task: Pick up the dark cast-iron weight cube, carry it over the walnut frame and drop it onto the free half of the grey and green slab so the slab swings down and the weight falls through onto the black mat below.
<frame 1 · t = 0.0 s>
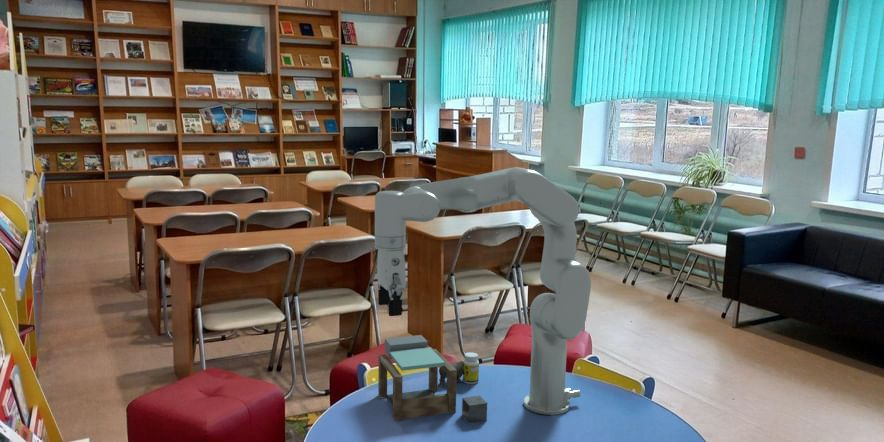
hand: (389, 309, 170), 31 cm above the table, tool pointing down, fingers open, 9 cm apart
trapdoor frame: (416, 403, 189), on the table
grey and green slab: (412, 354, 191), point 13 cm above the table, hinge at 0.0°
iron weight: (474, 418, 181), on the table
supplement bottle: (470, 381, 206), on the table, touching rhino figurine
rhino figurine: (457, 381, 206), on the table, touching supplement bottle
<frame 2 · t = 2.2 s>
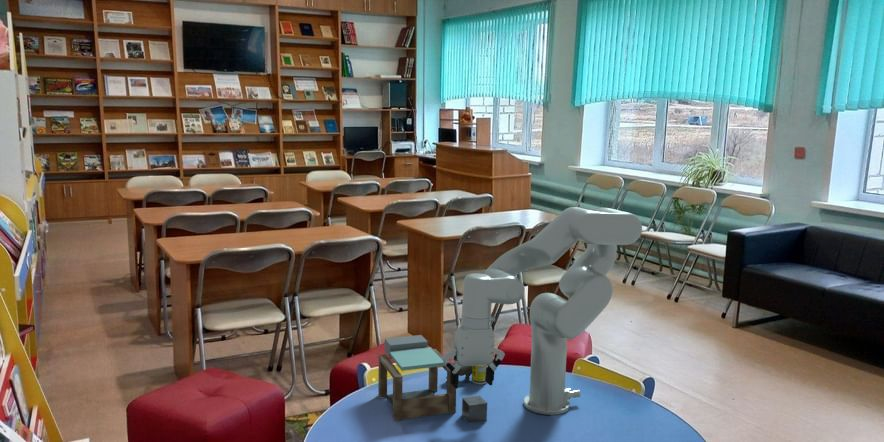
hand: (471, 384, 180), 9 cm above the table, tool pointing down, fingers open, 9 cm apart
supplement bottle: (479, 382, 206), on the table, touching rhino figurine
rhino figurine: (467, 380, 207), on the table, touching supplement bottle
everything else where it was.
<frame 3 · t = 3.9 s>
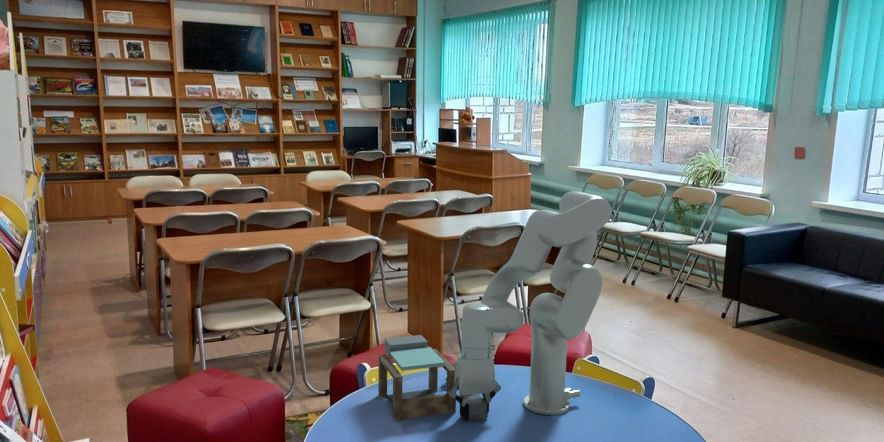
hand: (474, 416, 181), 0 cm above the table, tool pointing down, fingers closed on iron weight, 5 cm apart
iron weight: (474, 417, 181), on the table, touching gripper
supplement bottle: (479, 383, 204), on the table, touching rhino figurine
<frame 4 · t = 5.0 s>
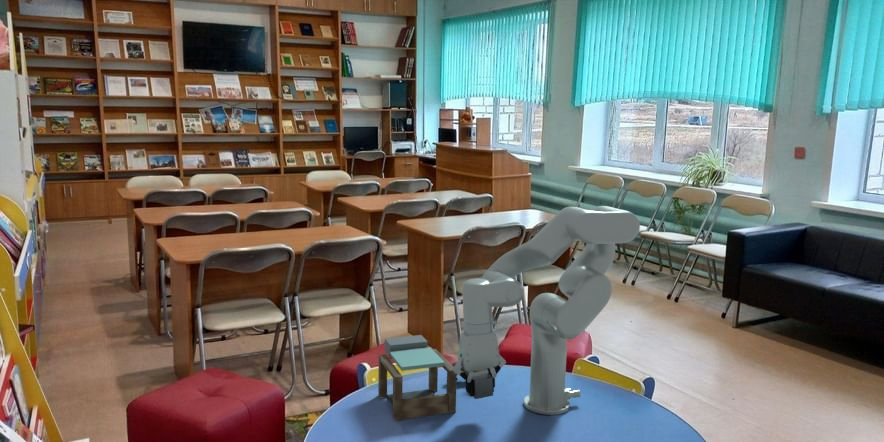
hand: (480, 391, 181), 7 cm above the table, tool pointing down, fingers closed on iron weight, 5 cm apart
iron weight: (480, 393, 181), point 7 cm above the table, touching gripper
supplement bottle: (482, 384, 204), on the table, touching rhino figurine
rhino figurine: (470, 381, 206), on the table, touching supplement bottle
everything else where it was.
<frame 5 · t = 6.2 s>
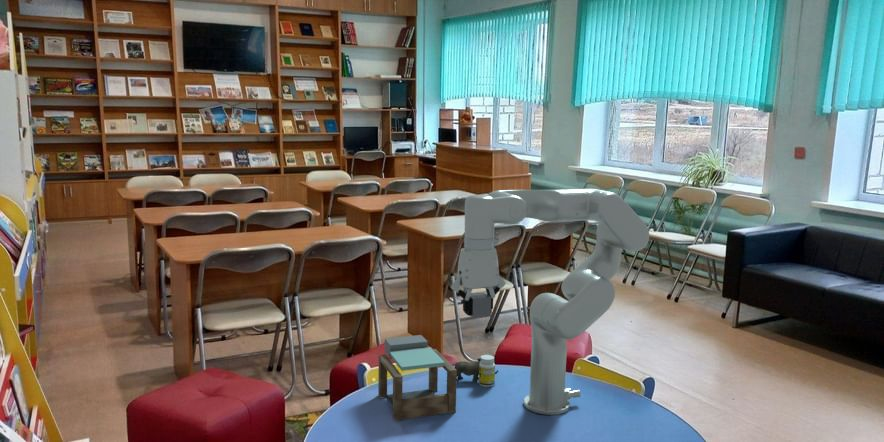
hand: (477, 312, 177), 29 cm above the table, tool pointing down, fingers closed on iron weight, 5 cm apart
iron weight: (477, 314, 177), point 28 cm above the table, touching gripper
supplement bottle: (486, 384, 204), on the table, touching rhino figurine
rhino figurine: (475, 381, 207), on the table, touching supplement bottle
everything else where it was.
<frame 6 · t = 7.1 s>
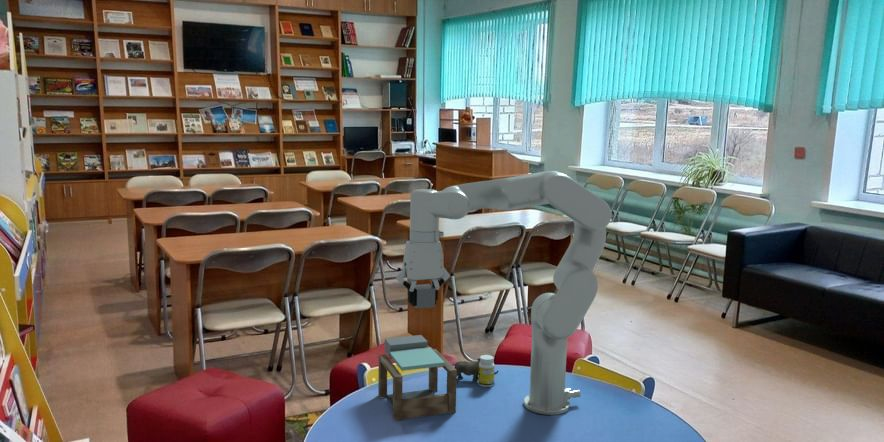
hand: (422, 303, 182), 30 cm above the table, tool pointing down, fingers closed on iron weight, 5 cm apart
iron weight: (422, 305, 182), point 29 cm above the table, touching gripper
everything else where it was.
when the fingers open (17 cm above the table, at t = 9.0 s): iron weight drops 13 cm and tips over, resting on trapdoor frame.
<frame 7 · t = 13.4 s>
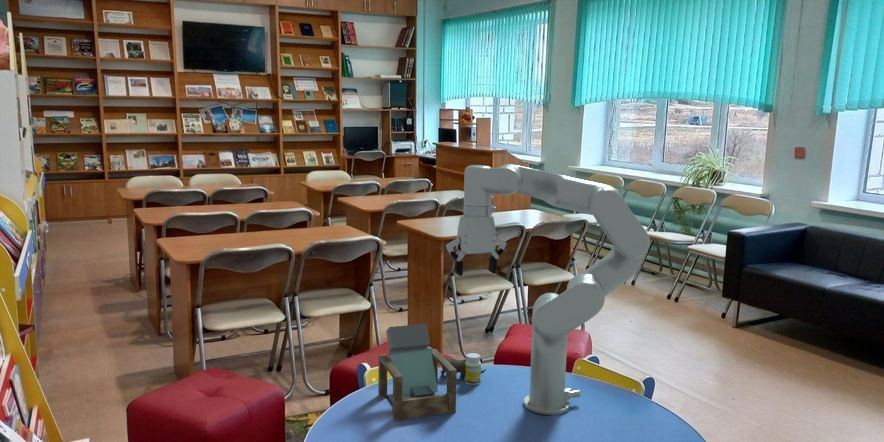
hand: (475, 273, 187), 36 cm above the table, tool pointing down, fingers open, 9 cm apart
grey and green slab: (411, 360, 192), point 11 cm above the table, hinge at -56.9°
iron weight: (419, 395, 187), point 3 cm above the table, tilted 90°, touching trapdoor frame
supplement bottle: (472, 382, 205), on the table, touching rhino figurine
rhino figurine: (463, 378, 208), on the table, touching supplement bottle
at the end: iron weight point 3.1 cm above the table; iron weight inside the target area on the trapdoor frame (0.4 cm from its centre), point 3.1 cm above the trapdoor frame's base; the gripper is holding nothing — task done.
